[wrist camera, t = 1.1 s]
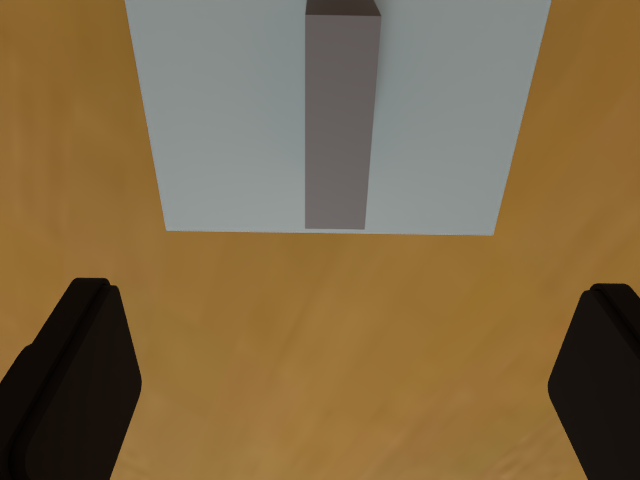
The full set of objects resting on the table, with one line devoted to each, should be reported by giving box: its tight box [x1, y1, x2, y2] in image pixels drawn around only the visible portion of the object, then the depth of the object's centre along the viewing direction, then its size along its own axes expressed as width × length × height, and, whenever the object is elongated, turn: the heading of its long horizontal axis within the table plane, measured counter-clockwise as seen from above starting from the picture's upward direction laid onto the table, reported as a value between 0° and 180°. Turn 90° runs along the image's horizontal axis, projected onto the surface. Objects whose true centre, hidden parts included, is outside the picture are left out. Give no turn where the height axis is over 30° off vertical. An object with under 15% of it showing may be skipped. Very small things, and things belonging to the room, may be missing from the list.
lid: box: [125, 0, 551, 235], centre depth 21 cm, size 15×17×7 cm
